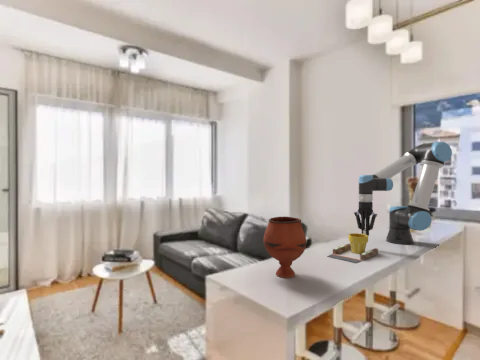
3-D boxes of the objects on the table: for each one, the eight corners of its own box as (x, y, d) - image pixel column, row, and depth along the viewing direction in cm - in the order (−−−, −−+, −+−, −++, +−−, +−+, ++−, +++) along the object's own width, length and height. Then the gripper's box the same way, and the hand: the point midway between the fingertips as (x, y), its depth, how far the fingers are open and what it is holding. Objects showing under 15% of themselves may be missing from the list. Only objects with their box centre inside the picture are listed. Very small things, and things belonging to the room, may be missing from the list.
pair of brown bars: (348, 247, 175) (348, 242, 175) (378, 253, 162) (378, 248, 162) (332, 253, 162) (332, 248, 162) (363, 260, 149) (363, 255, 149)
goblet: (278, 264, 144) (277, 214, 143) (314, 273, 131) (314, 218, 131) (255, 275, 129) (254, 219, 128) (293, 286, 117) (293, 224, 116)
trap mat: (332, 254, 161) (332, 253, 161) (361, 260, 149) (361, 259, 149) (327, 256, 156) (327, 255, 156) (356, 263, 145) (356, 262, 145)
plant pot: (370, 255, 158) (370, 237, 158) (350, 254, 160) (350, 236, 160) (365, 250, 168) (365, 233, 168) (347, 249, 171) (347, 232, 170)
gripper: (351, 200, 173) (351, 240, 173) (374, 202, 163) (373, 244, 164) (357, 200, 178) (357, 238, 178) (379, 201, 168) (379, 242, 169)
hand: (365, 241), depth 171 cm, fingers closed
